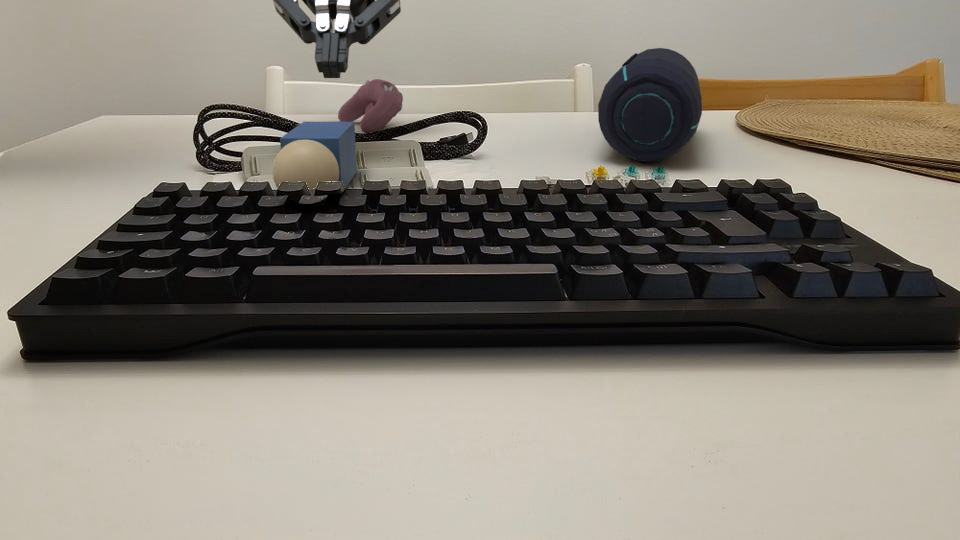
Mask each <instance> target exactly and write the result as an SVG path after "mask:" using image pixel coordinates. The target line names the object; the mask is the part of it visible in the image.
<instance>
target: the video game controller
mask: <svg viewBox="0 0 960 540" xmlns="http://www.w3.org/2000/svg"><path fill="white" fill-rule="evenodd" d="M403 101H404V95H403V93H402V92H400V91H399V89H398V88H397V86H396V85H395V84H394V83H392V82H390V81H387V80H385V79H380V78H375V79H372V80H369V79H367V80H366V81H365V83H364V84H362V85H361V86H359V88H358V90H356V92H355V93H354V95H352V96H351V97H350V98H349V99H348V100H346V101H345V103H343V104H342V106H341V107H340V109H339V110H338V113H337V119H338V120H339V122H355V121H357V120H358V119H360V118H361V120H360V122H359V123H360V125H359V127H360V130H361V132H363V133H364V134H366V133H370V132H374V133H376V131H377V132H379V131H381V130H383V129H385V128H386V126H387V125H388V124H389V123H390V122H391V121H392V120H393V118H395V117H397V115H398V113H400V112H401V111H402V110H403ZM370 134H371V133H370Z"/></svg>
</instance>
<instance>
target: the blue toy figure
mask: <svg viewBox="0 0 960 540" xmlns="http://www.w3.org/2000/svg"><path fill="white" fill-rule="evenodd" d="M279 143H280V150H279V151H278V153H277V154H276V156H275V158H274V161H273V164H272V178H273V182H274V184H275V186H276V188H277V189H278V187H279V184H280V183H281V182H283V181H288V182H298V181H304V182H306V183H307V186H308V188H309V189H313V188H315V187H316V185H317V183H318V182H319V181H331V182H332V181H343V184H344V187H345V188H346V189H348V187H349V185H350V183H351V181H352V180H353V179H354V177H355V175H356V174H357V172H358V164H357V162H358V161H357V147H356V128H355V121H353V122H340V121H302V122H301V123H300V124H298V125H297V126H295V127H294V128H292V129H291V130H290V131H288V132H286V133H285V134H284V135H282V136H281V137H280V138H279Z"/></svg>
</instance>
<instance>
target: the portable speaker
mask: <svg viewBox="0 0 960 540" xmlns="http://www.w3.org/2000/svg"><path fill="white" fill-rule="evenodd" d="M702 99H703V98H702V92H701V87H700V81H699V77H698V74H697V72H696V69H695V67H694V66H693V65H692V63H691V62H690V60H689V59H688V58H686V56H684V55H683V54H681V53H679V52H678V51H676V50H673V49H670V48H665V47H664V48H663V47H654V48H648V49H645V50H643V51H640V52H639V53H636V52H635V53H634V54H633V55H631V56H630V57H629V58H628V59H627V60H625V62H623V63H622V64H621V67H620V68H619V69H618V70H617V71H616V72H615V73H614V74H613V75H612V76H611V77H610V78H609V80H608V81H607V82H606V83H605V85H604V88H603V90H602V93H601V96H600V99H599V102H598V105H597V109H598V110H597V112H598V113H597V114H598V118H597V119H598V125H599V129H600V131H601V134H602V136H603V139H605V141H606V143H607V144H608V145H609V146H610V147H611V148H612V149H613V150H615V151H616V152H617V153H618V154H620V155H621V156H623V157H626V158H629V159H632V160H634V161H638V162H647V163H648V162H652V163H654V162H658V161H663V160H665V159H668V158H670V157H673V156H674V155H676V154H677V153H679V152H680V151H681V150H682V149H683V148H684V147H685V146H686V145H688V144H689V143H690V142H691V140H692V139H693V137H694V136H695V134H696V133H697V130H698V126H699V124H700V121H701V117H702V114H703V100H702Z"/></svg>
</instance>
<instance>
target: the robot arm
mask: <svg viewBox="0 0 960 540" xmlns="http://www.w3.org/2000/svg"><path fill="white" fill-rule="evenodd" d="M301 1H302V2H303V3H304V4H305V6H306V7H307V8H308V9H309V11H310V12H311V13H312V14H313V15H314V16H315V21H312V20H311V18H310V17H309V16H308V15H307V13H306V12H305V11H304V10H303V9H302V8H301V7H300V2H299V0H272V2H273V5H274V9H275V12H276V13H277V14H278V15H279V16H280V18H282V20H283V21H284V22H285V24H287V25H288V26H289V27H290V28H291V30H292V31H293V32H294V33H295V35H297V36H298V38H300V39H301V41H302V42H303V43H304V44H307V45H311V44H313V43H314V44H315V48H314V49H315V50H314V61H315V65H316V68H317V71H318V73H322V76H323V78H324V79H341V75H342V74H343V73H346V72H347V70H348V67H349V54H350V47H351V46H352V45H353V44H355V43H358V44H359V45H367V44H368V43H369V42H371V40H373V38H375V37H376V36H377V35H378V34H379V33H381V31H382V30H383V29H385V27H387V26H388V25H389V24H390V23H391V22H392V21H393V20H394V19H395V18H396V17H397V16H398V15H400V13H401V12H402V11H401V10H402V9H401V0H301ZM341 73H342V74H341Z"/></svg>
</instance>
